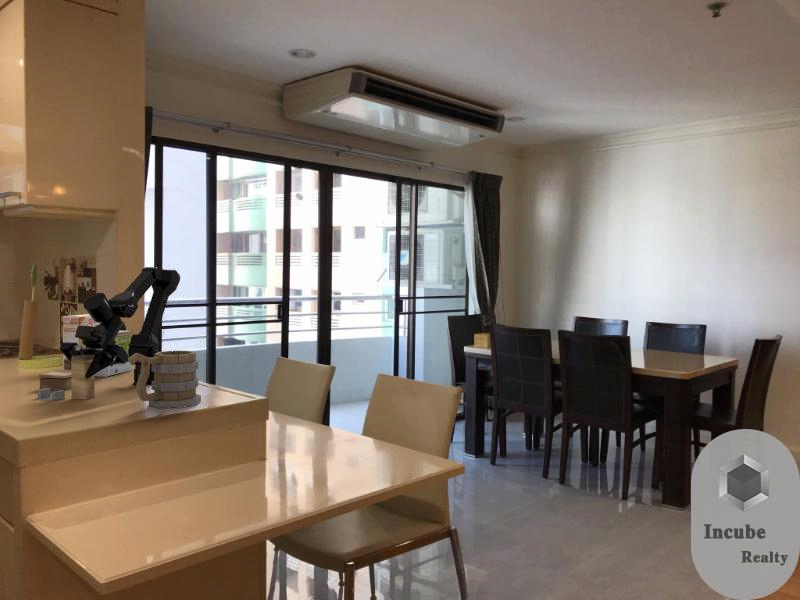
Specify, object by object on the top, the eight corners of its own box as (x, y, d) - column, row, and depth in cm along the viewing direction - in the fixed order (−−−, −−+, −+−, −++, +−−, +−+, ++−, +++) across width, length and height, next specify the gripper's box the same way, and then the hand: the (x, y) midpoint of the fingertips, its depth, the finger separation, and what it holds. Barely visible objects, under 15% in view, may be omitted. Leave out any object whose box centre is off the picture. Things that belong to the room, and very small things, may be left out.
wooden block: (82, 395, 181) (81, 354, 180) (94, 396, 180) (94, 355, 179) (71, 398, 177) (71, 356, 176) (84, 399, 176) (84, 357, 176)
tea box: (108, 377, 218) (108, 333, 217) (81, 376, 219) (80, 332, 219) (133, 370, 233) (133, 329, 232) (107, 369, 234) (107, 328, 234)
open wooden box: (67, 385, 202) (66, 371, 202) (91, 386, 202) (91, 372, 201) (39, 393, 189) (39, 378, 189) (65, 393, 189) (65, 379, 188)
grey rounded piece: (53, 398, 182) (53, 387, 182) (70, 401, 179) (70, 389, 179) (31, 402, 176) (31, 390, 176) (48, 405, 173) (48, 393, 173)
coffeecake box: (79, 371, 229) (79, 316, 228) (61, 370, 230) (61, 315, 229) (106, 365, 243) (106, 313, 242) (90, 364, 245) (89, 313, 244)
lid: (66, 370, 202) (66, 358, 202) (91, 371, 201) (91, 359, 201) (39, 377, 189) (39, 364, 189) (65, 378, 188) (65, 365, 188)
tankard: (183, 396, 187) (183, 345, 186) (208, 403, 179) (208, 349, 178) (115, 407, 171) (115, 351, 171) (140, 415, 163) (140, 355, 163)
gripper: (63, 313, 183) (34, 357, 173) (121, 315, 179) (95, 360, 169) (83, 338, 191) (56, 382, 181) (139, 341, 187) (114, 385, 177)
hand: (79, 377), depth 177 cm, fingers closed on wooden block, 4 cm apart
